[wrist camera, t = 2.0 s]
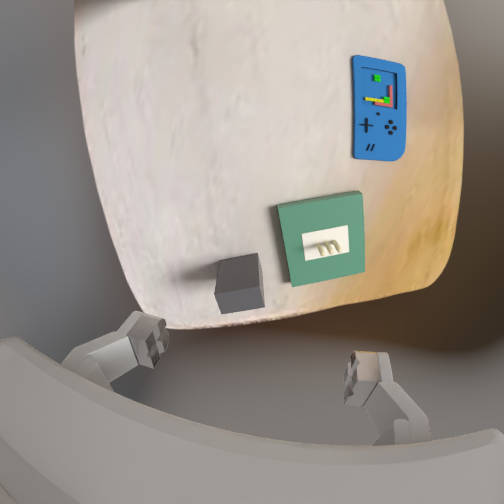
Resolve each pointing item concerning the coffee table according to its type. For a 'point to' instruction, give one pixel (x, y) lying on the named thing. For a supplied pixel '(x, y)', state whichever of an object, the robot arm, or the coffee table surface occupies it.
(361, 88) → the handheld gaming device
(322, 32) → the coffee table surface
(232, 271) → the block
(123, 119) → the coffee table surface
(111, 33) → the coffee table surface
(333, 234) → the board
